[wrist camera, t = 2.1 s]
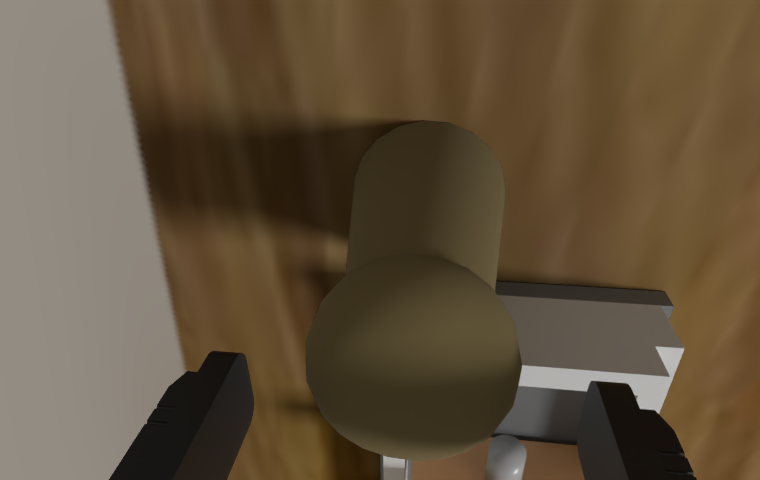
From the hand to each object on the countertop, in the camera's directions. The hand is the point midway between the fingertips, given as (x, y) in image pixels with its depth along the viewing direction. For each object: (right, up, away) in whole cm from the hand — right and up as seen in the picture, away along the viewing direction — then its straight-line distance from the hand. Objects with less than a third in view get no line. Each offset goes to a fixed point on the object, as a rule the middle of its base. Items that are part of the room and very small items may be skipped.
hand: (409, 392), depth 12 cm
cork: (+1, +6, +9) cm, 10 cm away
